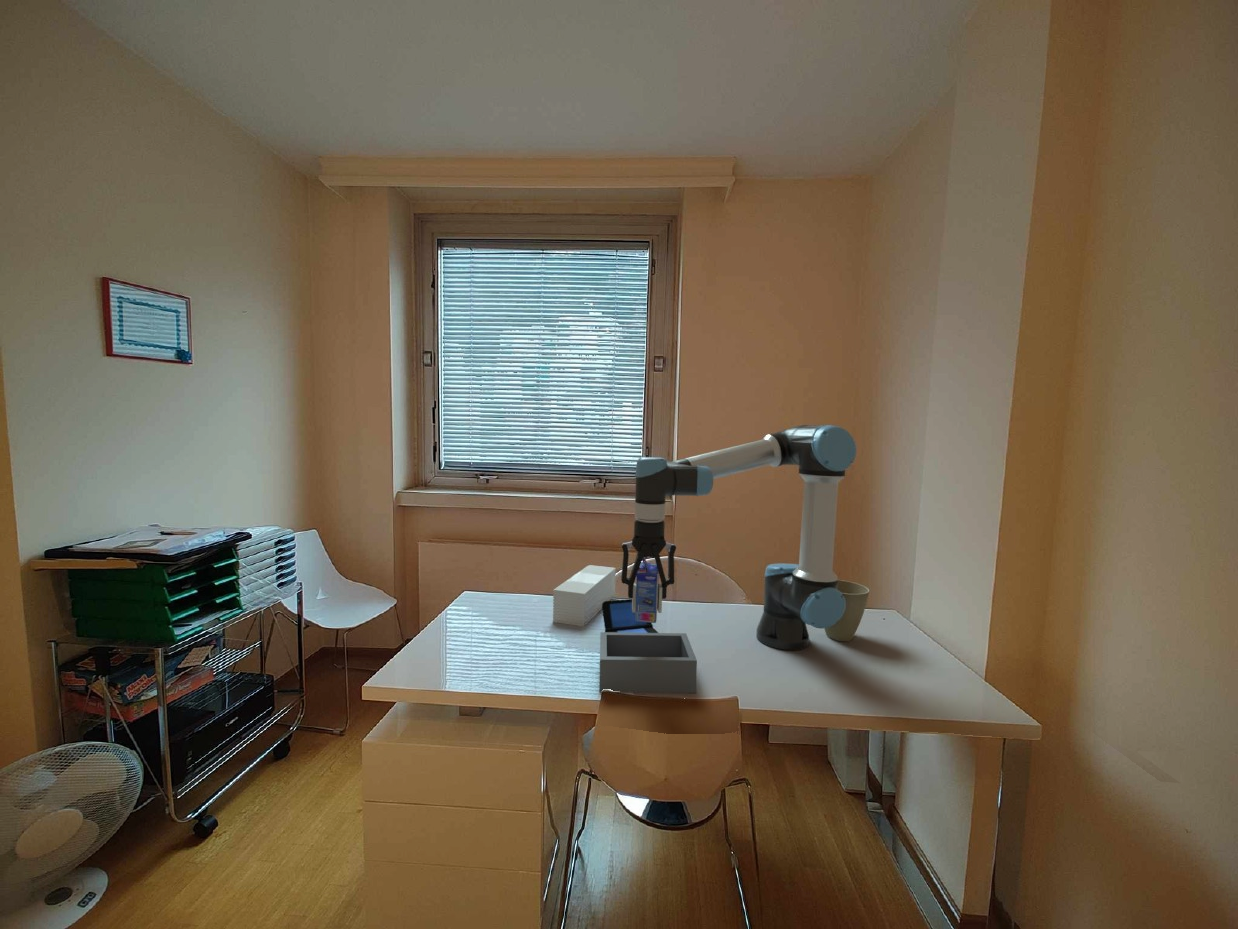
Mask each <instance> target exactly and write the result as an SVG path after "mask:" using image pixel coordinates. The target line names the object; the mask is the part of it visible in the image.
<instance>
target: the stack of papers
mask: <svg viewBox="0 0 1238 929" xmlns="http://www.w3.org/2000/svg"><path fill="white" fill-rule="evenodd" d="M616 570H617V569H616V567H613V566H611V567H610V566H609V567H608V566H601V565H593V564H589V565H587V566H585V567H584V568H583V569H581V570H580V571H578V572H577V573H575V574H573V575H572V576H571V577H570V578H568V579H567V580H565V581H564V582H562V583H561V584H559V585H558V586H557V587H555V588H554V589H553V591H552V594H553V596H552V598H553V599H552V604H553V605H552V607H553V608H552V622H553V623H558V624H559V623H560V624H564V625H565V624H567V625H572V626H579V627H585V626H586V625H587V624H588V623H589V622H590V621H591V620H592V619H593V618H594V617H595V616H596V615H597V614H598V613H599V612H600V611H601V610H602V604H603V602H605V601H612V599H613V598H614V597H615V596H616Z"/></svg>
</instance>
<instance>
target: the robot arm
mask: <svg viewBox="0 0 1238 929" xmlns="http://www.w3.org/2000/svg"><path fill="white" fill-rule="evenodd" d="M856 457H857V445H856V441H855V438H854V437H853V435H851V434H850V432H849V431H848V430H847V429H846V428H843V427H842V426H837V425H833V424H832V425H831V424H822V425H821V424H819V425H817V424H815V425H809V424H806V425H805V424H804V425H803V424H802V425H797V426H794V427H789V428H787V429H783V430H780V431H775V432H773V433H769V434H766V435H764V436H763V438H762V439H760V440H756V441H752V442H747V443H743V444H740V445H735V446H731V447H727V448H726V447H725V448H722V449H719V450H714V451H710V452H706V453H702V454H698V455H693V456H690V457H685V458H682V459H678V460H673V461H671V460H667V459H666V458H664V457H656V456H655V457H654V456H642V457H639V458H638V459H637V460H636V465H635V466H636V467H635V476H634V477H635V496H634V497H635V502H634V518H635V520H634V523H633V524H634V525H633V526H634V527H633V538H632V540H630V541H628V542H625V541H624V542H621V548H622V552H623V554H622V565H621V566H622V567H621V576H620V577H621V583H622V584H623V585H624V584H625V585H627V596H628V599H632V612H636V583H635V581H636V580H637V571H638V569H639V567H640V564H641V563H642V562H643V561H642V559H643V557H644V558H654V561H655V564H656V565H657V568H658V572H659V579H660V583H658V606H657V614H662V608H663V600H666V599H667V594H668V593H667V590H668V588H667V587H668V586H670V585H674V584H675V552H676V549H677V546H676V544H675V543H674V542H672V543H670V542H667V541H666V539H665V525H666V524H665V520H664V519H665V518H666V501H667V500H666V497H668V496H669V497H670V496H671V497H672V496H684V497H685V496H689V497H690V496H693V497H699V496H707V495H709V494H710V493H711V492H712V490H713V487H714V479H718V478H722V477H725V476H730V475H735V474H739V473H742V472H747V471H751V470H755V469H758V468H763V467H765V466H766V467H767V466H770V467H773V468H776V467H780V466H798V475H799V476H800V478H801V479H802V480H803V496H802V508H801V527H800V538H799V539H800V540H799V541H800V543H799V557H798V563H770V564H768V565H767V566H766V568H765V573H764V576H763V577H764V591H763V592H764V593H763V594H764V595H763V611H762V615H761V617H760V620H759V622H758V624H757V628H756V639H757V640H758V641H759V642H760V643H762V644H764V645H765V646H768V647H771V648H774V649H779V650H785V651H799V650H803V649H806V648H807V647H809V644H810V635H809V631H808V628H807V625H810V626H812V627H813V628H816V629H824V628H828V627H831V626H833V625H834V624H836V622H837V621H839V620H840V619H841V617H842V616H843V614H844V611H845V607H846V602H845V598H844V596H843V595H842V593H841V592H840V591H839V590H838V589H837V585H838V580H839V578H838V577H839V576H837V575H836V573H835V572H834V571H833V568H834V566H833V565H834V554H835V553H834V551H835V550H834V549H835V536H836V519H837V506H838V490H839V483H840V482H841V481H842V480H843V479H844V478H845V477H846V470H847V469H848V468H850V467H851V466H852V465H851V464H852V463H854V462H855V459H856ZM632 547H633V548H634V549H635V551H636V552H637V553H636V556H635V560H634V562H633V566H632V569H631V572H630V575H629V577H628V567H629V556H630V555H629V552H630V551H631V550H632ZM663 549H665V550H666V552H667V569H668V570H667V577H668V578H666V575H665V571H664V567H663V564H662V560H661V556H660V554H661V553H662V551H663Z"/></svg>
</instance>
